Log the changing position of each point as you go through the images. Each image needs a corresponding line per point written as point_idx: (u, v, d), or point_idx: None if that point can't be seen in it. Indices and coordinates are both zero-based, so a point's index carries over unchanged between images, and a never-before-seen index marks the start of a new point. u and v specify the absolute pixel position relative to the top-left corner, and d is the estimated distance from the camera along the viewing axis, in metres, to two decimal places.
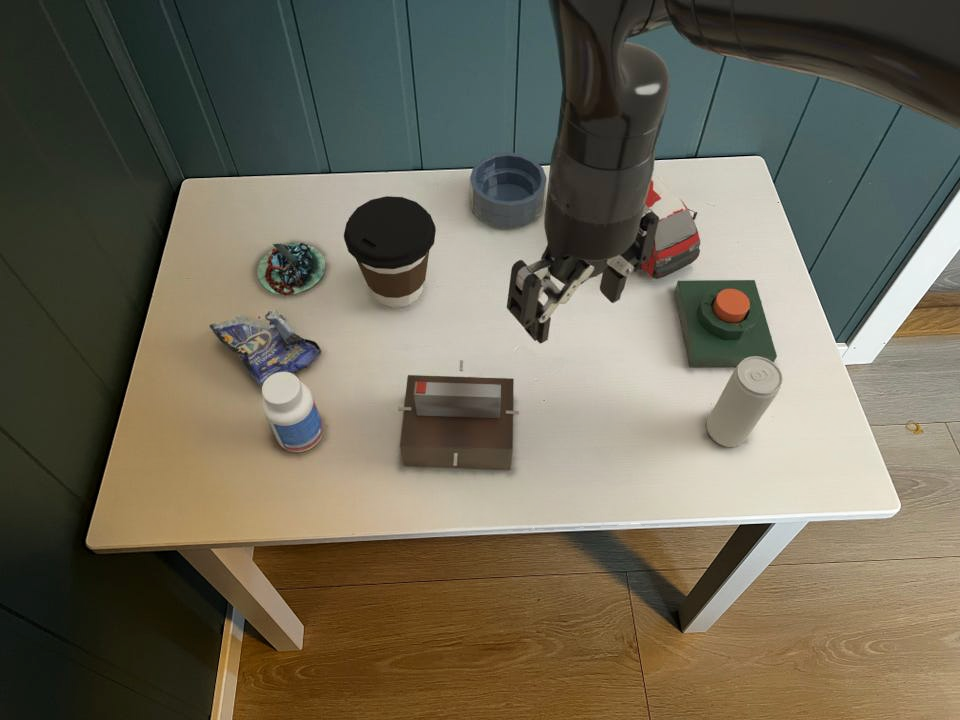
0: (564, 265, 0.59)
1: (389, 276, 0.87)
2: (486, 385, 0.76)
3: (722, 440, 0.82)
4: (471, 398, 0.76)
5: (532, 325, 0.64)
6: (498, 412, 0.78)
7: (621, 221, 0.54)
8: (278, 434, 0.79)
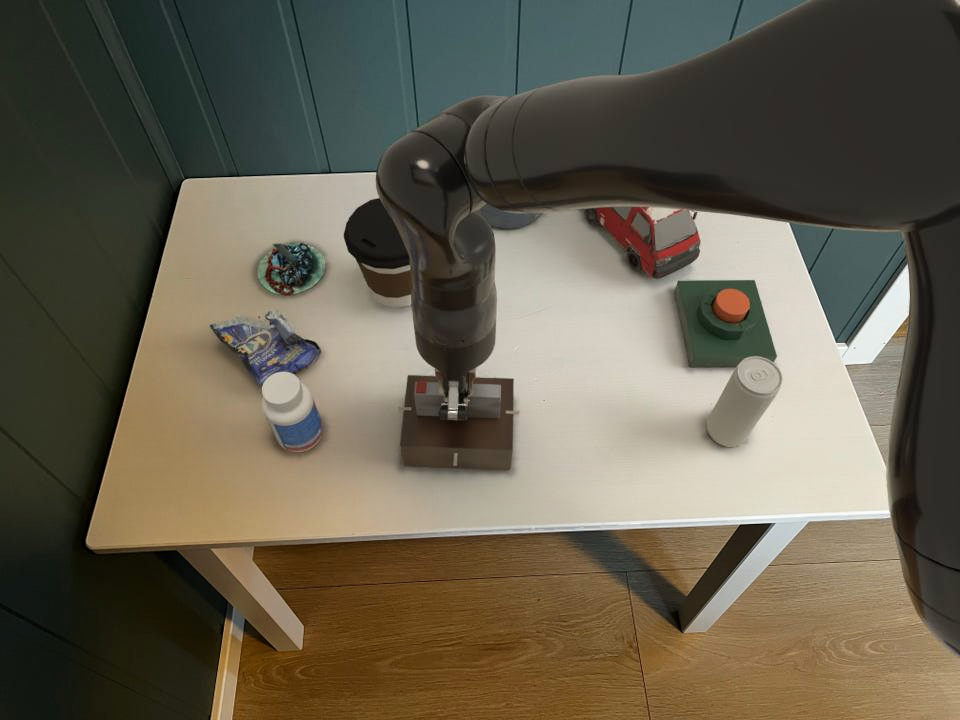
0: (465, 378, 0.68)
1: (389, 276, 0.87)
2: (486, 385, 0.76)
3: (722, 440, 0.82)
4: (471, 398, 0.76)
5: None
6: (498, 412, 0.78)
7: (495, 321, 0.65)
8: (278, 434, 0.79)
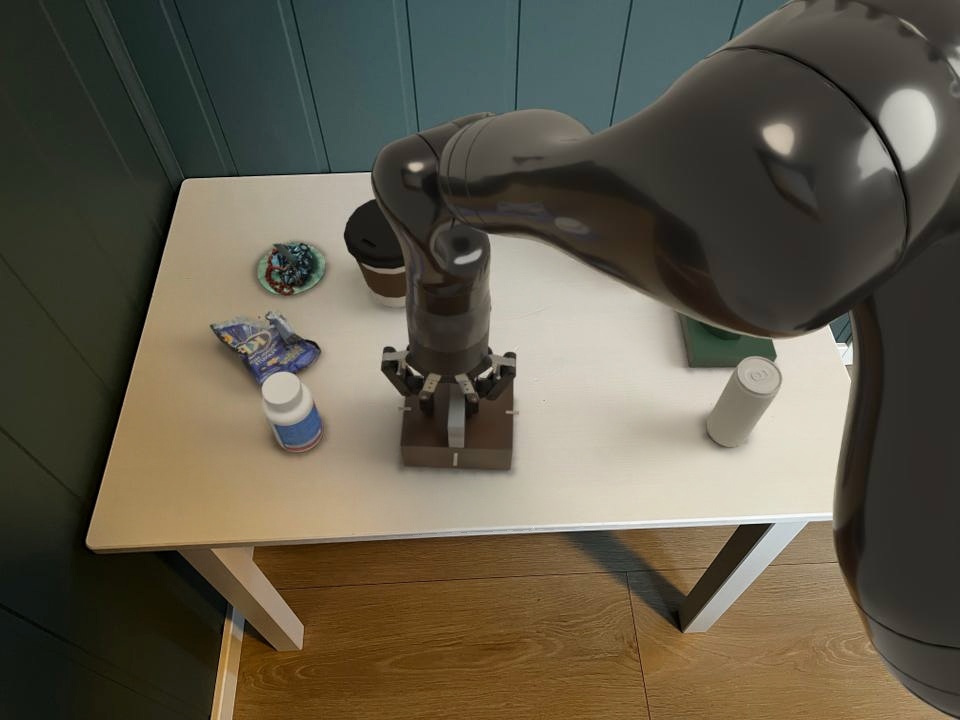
0: (414, 360, 0.70)
1: (389, 276, 0.87)
2: (461, 414, 0.74)
3: (722, 440, 0.82)
4: (449, 403, 0.76)
5: None
6: (448, 440, 0.76)
7: (438, 351, 0.64)
8: (278, 434, 0.79)
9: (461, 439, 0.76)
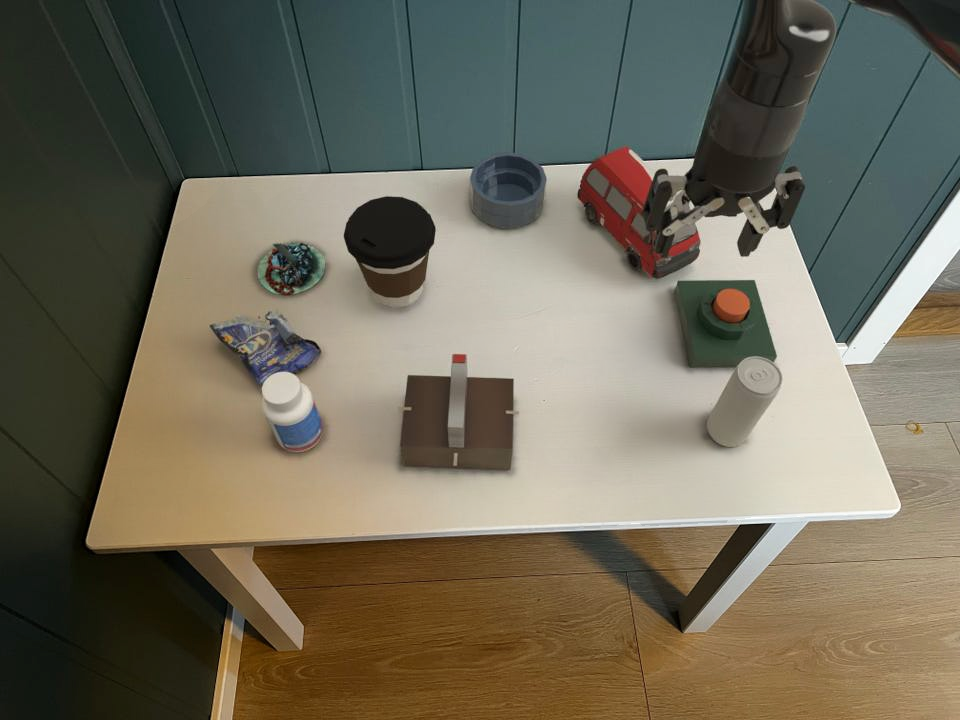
0: (698, 186, 0.67)
1: (389, 276, 0.87)
2: (461, 414, 0.74)
3: (722, 440, 0.82)
4: (449, 403, 0.76)
5: (657, 236, 0.74)
6: (448, 440, 0.76)
7: (752, 157, 0.61)
8: (278, 434, 0.79)
9: (461, 439, 0.76)
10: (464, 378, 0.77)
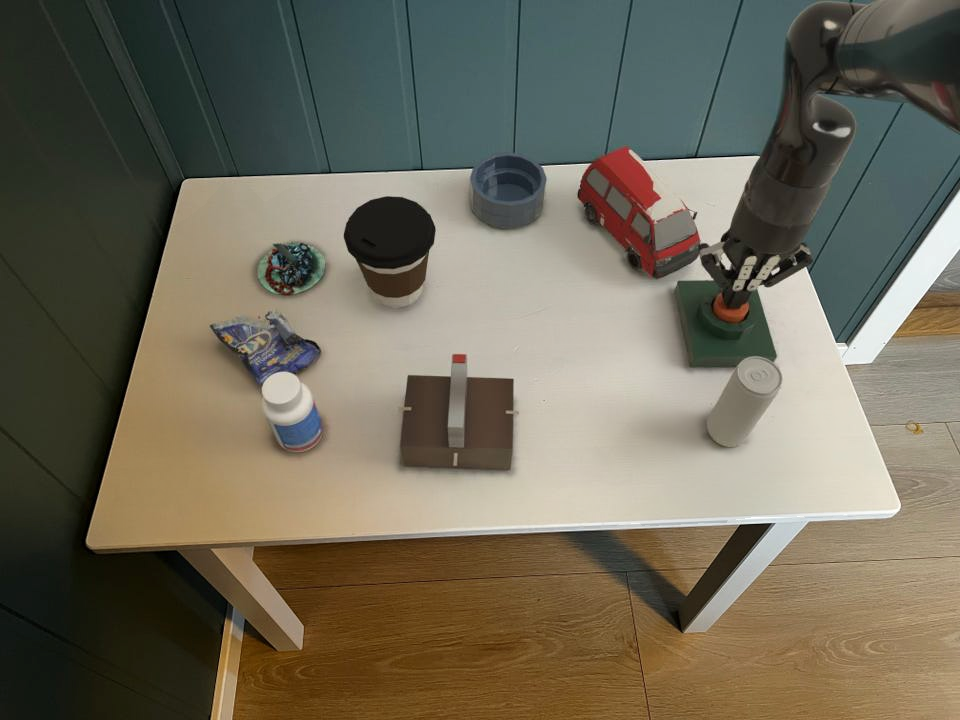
0: (734, 246, 0.79)
1: (389, 276, 0.86)
2: (461, 414, 0.74)
3: (722, 440, 0.82)
4: (449, 403, 0.76)
5: (727, 291, 0.86)
6: (448, 440, 0.76)
7: (782, 226, 0.72)
8: (278, 434, 0.79)
9: (461, 439, 0.76)
10: (464, 378, 0.77)
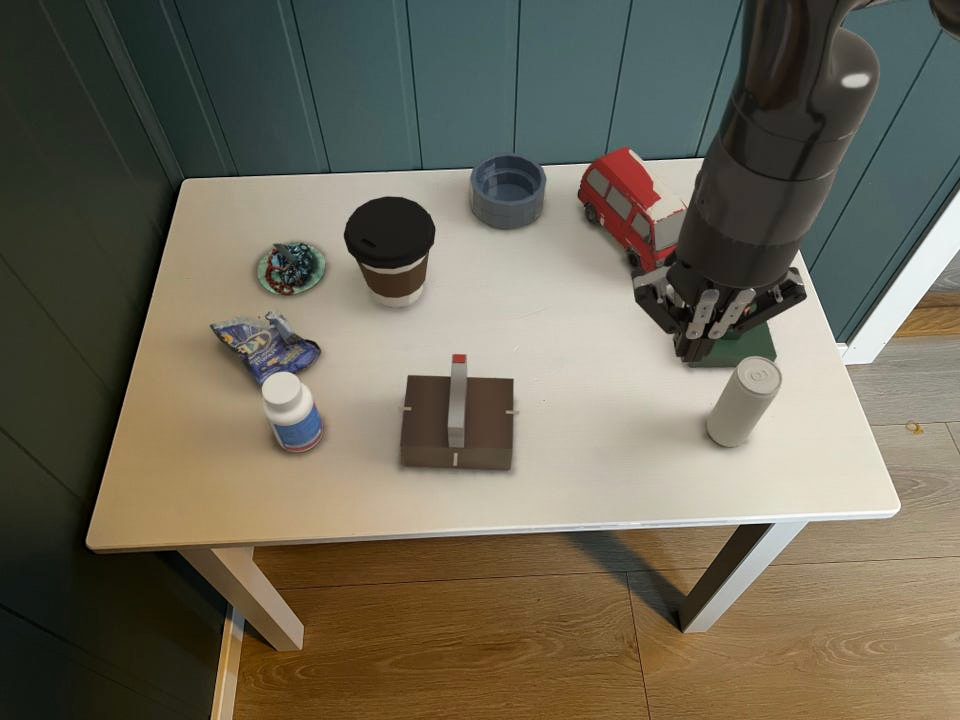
0: (683, 274, 0.50)
1: (389, 276, 0.86)
2: (461, 414, 0.74)
3: (722, 440, 0.82)
4: (449, 403, 0.76)
5: (679, 338, 0.58)
6: (448, 440, 0.76)
7: (755, 245, 0.44)
8: (278, 434, 0.79)
9: (461, 439, 0.76)
10: (464, 378, 0.77)
